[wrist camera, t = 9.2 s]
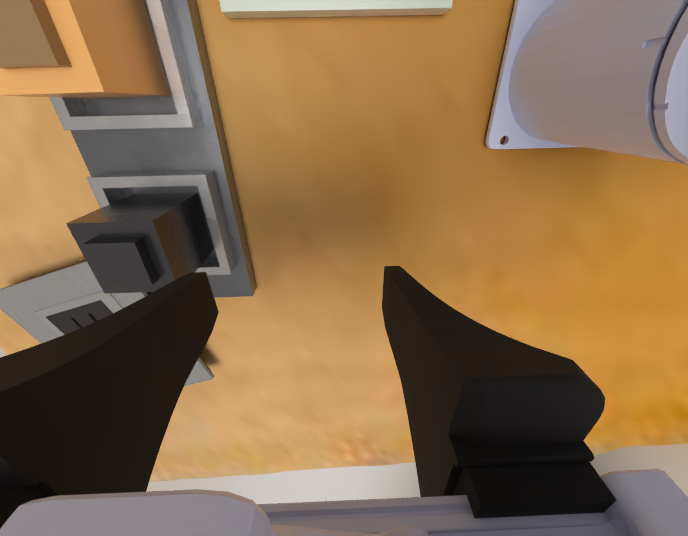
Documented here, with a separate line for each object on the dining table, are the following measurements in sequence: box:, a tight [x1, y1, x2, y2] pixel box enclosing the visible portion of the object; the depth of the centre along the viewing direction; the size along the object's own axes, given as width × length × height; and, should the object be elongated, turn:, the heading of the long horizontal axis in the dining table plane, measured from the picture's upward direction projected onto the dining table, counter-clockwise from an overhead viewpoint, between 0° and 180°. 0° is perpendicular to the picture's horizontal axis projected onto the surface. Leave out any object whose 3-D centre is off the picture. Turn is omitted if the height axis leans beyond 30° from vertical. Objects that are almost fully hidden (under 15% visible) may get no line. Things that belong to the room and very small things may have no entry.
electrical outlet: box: [0, 261, 214, 386], centre depth 23 cm, size 13×10×2 cm
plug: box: [0, 0, 171, 98], centre depth 12 cm, size 4×4×6 cm
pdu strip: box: [49, 0, 256, 297], centre depth 14 cm, size 22×8×7 cm, turn 1°
